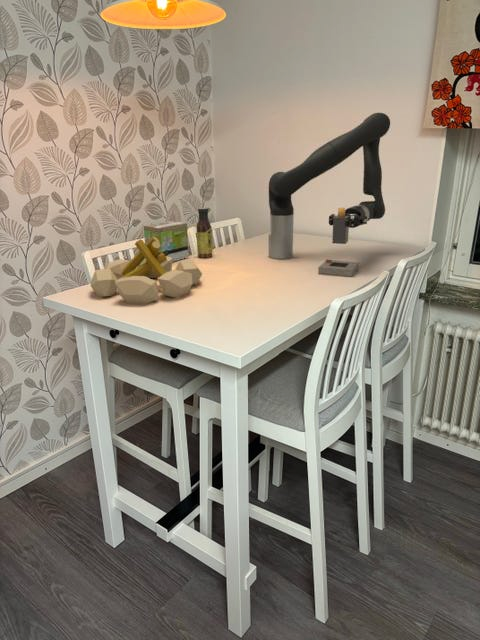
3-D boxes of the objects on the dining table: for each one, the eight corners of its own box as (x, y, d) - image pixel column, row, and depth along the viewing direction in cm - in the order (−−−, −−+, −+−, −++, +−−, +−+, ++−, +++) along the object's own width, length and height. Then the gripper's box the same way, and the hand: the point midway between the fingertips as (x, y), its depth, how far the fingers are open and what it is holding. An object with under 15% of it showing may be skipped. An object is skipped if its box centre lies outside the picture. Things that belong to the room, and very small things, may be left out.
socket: (318, 274, 175) (318, 265, 174) (326, 266, 185) (326, 258, 184) (351, 277, 170) (352, 268, 169) (358, 268, 181) (358, 260, 180)
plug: (332, 243, 173) (333, 208, 169) (335, 240, 177) (336, 206, 173) (345, 244, 171) (346, 209, 167) (348, 241, 175) (349, 207, 171)
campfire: (220, 283, 168) (218, 233, 162) (153, 312, 141) (148, 254, 135) (144, 270, 186) (139, 225, 180) (72, 294, 159) (64, 242, 153)
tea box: (163, 265, 191) (160, 227, 186) (145, 262, 197) (142, 225, 192) (189, 258, 202) (187, 222, 197) (172, 255, 208) (169, 220, 203)
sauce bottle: (212, 258, 200) (210, 209, 193) (196, 258, 201) (194, 209, 194) (213, 254, 207) (211, 206, 200) (198, 255, 207) (196, 207, 200)
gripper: (338, 204, 185) (319, 210, 172) (375, 206, 178) (359, 213, 164) (337, 224, 188) (318, 232, 175) (374, 227, 180) (357, 235, 167)
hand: (338, 223), depth 170 cm, fingers closed on plug, 5 cm apart
